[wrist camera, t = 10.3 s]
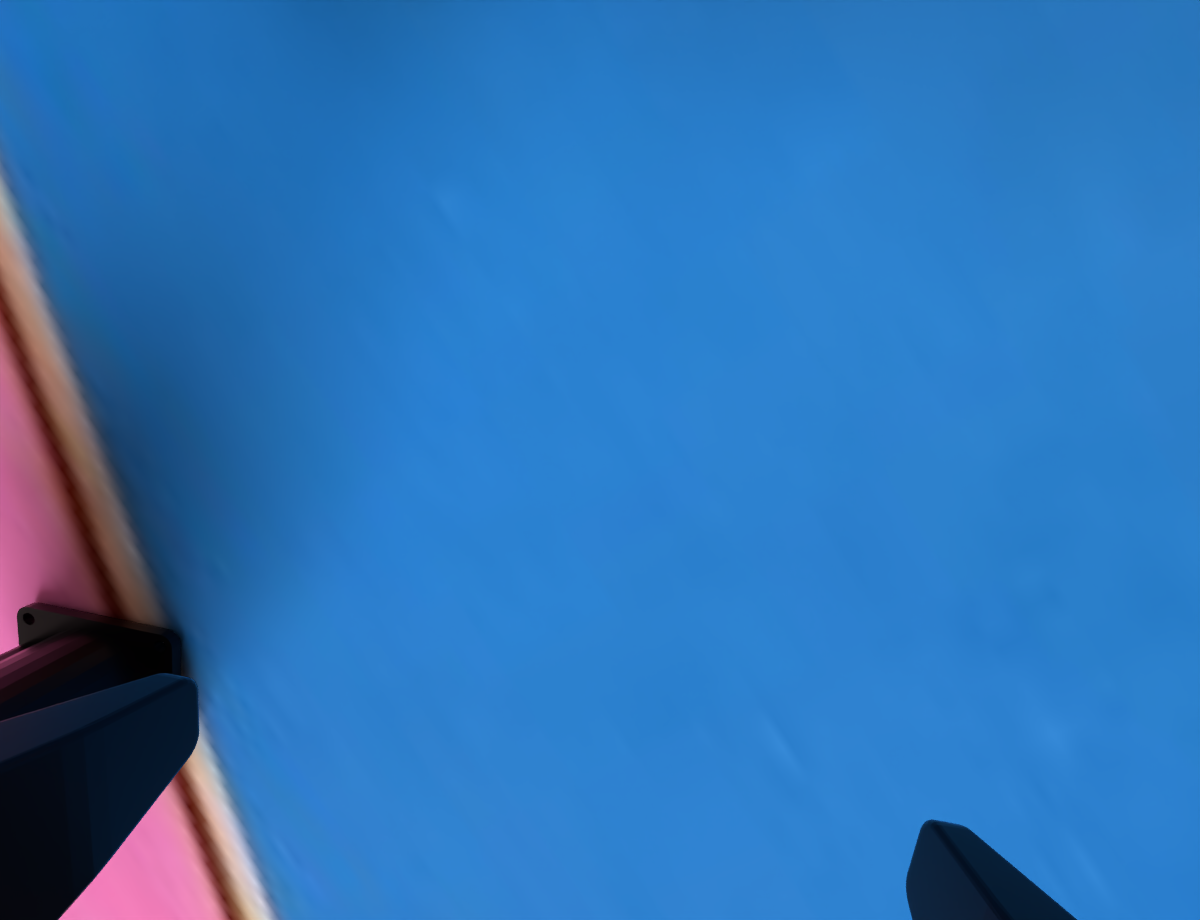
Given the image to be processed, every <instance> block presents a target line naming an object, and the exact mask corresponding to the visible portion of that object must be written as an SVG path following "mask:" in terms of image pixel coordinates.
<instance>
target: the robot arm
mask: <svg viewBox="0 0 1200 920" xmlns="http://www.w3.org/2000/svg"><path fill="white" fill-rule="evenodd" d="M17 622H18V635H19V646H18V647H16V648H14V649H12V650H10V651H8V652H5V653H3V654H1V655H0V920H58V919H59V918H60V917H61V916H62V915H63V914H64V913H65V912H66V910H67V909H68V908H69V907H70V906H71V905H72V904H73V903H74V902H75V900H76V899H77V898H78V897H79V896H80V895H81V894H82V892H83V891H84V890H85V889H86V888H87V887H88V885H89V884H90V883H91V882H92V881H93V880H94V879H95V877H96V876H97V875H98V874H99V872H100V871H101V870H102V869H103V867H104V866H105V865H106V864H107V862H108V861H109V860H110V859H111V858H112V856H113V855H114V854H115V853H116V851H117V850H118V849H119V847H120V846H121V845H122V843H123V842H124V841H125V840H126V838H127V837H128V836H129V834H130V833H131V832H132V831H133V829H134V828H135V827H136V825H137V824H138V823H139V822H140V820H141V819H142V818H143V816H144V815H145V814H146V813H147V811H148V810H149V809H150V807H151V806H152V805H153V804H154V802H155V801H156V800H157V798H158V797H159V796H160V794H161V793H162V792H163V791H164V789H165V788H166V787H167V785H168V784H169V783H170V782H171V780H172V779H173V778H174V776H175V775H176V774H177V773H178V771H179V770H180V769H181V767H182V766H183V765H184V764H185V762H186V761H187V760H188V758H189V757H190V755H191V754H192V752H193V750H194V749H195V746H196V744H197V741H198V737H199V707H198V686H197V684H196V682H195V681H194V680H193V679H191V678H189V677H184V676H181V644H180V639H179V637H178V636H177V634H176V633H174V632H173V631H171V630H168V629H164V628H159V627H154V626H149V625H144V624H139V623H135V622H130V621H125V620H120V619H115V618H110V617H106V616H101V615H96V614H91V613H86V612H82V611H77V610H72V609H67V608H62V607H57V606H53V605H48V604H43V603H32V604H30V605H27V606H25V607H23V608H21V609H19V611H18V613H17ZM163 642H164V643H163ZM165 645H166V646H165ZM906 893H907V900H908V904H909V908H910V912H911V916H912V920H1077V919H1076V918H1074V917H1073V916H1072V915H1071V914H1070V913H1069V912H1067V911H1066V910H1065V909H1064V908H1063V907H1061V906H1060V905H1059V904H1058V903H1057V902H1055V901H1054V900H1053V899H1052V898H1051V897H1049V896H1048V895H1047V894H1046V893H1045V892H1044V891H1042V890H1041V889H1040V888H1039V887H1038V886H1036V885H1035V884H1034V883H1033V882H1032V881H1030V880H1029V879H1028V878H1027V877H1026V876H1024V875H1023V874H1022V873H1021V872H1020V871H1019V870H1017V869H1016V868H1015V867H1014V866H1013V865H1011V864H1010V863H1009V862H1008V861H1007V860H1005V859H1004V858H1003V857H1002V856H1001V855H1000V854H998V853H997V852H996V851H995V850H994V849H992V848H991V847H990V846H989V845H988V844H986V843H985V842H984V841H983V840H982V839H980V838H979V837H978V836H977V835H976V834H975V833H973V832H972V831H971V830H970V829H968V828H967V827H965V826H962V825H959V824H954V823H948V822H943V821H938V820H928V821H926V822H925V823H924V824H923V825H922V827H921V830H920V833H919V836H918V839H917V843H916V846H915V850H914V853H913V856H912V860H911V863H910V866H909V870H908V873H907V879H906Z"/></svg>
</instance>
